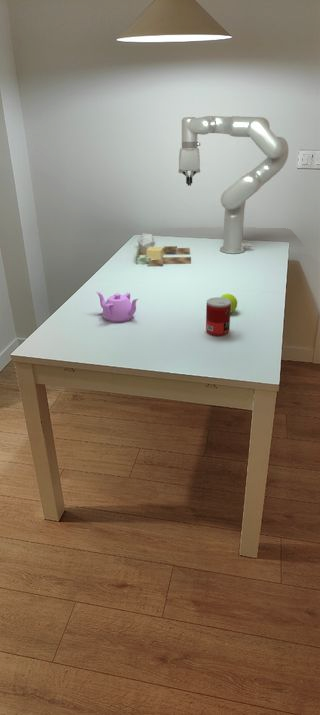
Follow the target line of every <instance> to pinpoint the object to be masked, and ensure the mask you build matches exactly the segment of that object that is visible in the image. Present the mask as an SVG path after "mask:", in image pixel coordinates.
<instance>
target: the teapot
mask: <svg viewBox="0 0 320 715" xmlns="http://www.w3.org/2000/svg"><path fill="white" fill-rule="evenodd" d="M95 293H96V294H97V295H98V296H99V297H98V298H99V302H100V307H101V309H102V316H103V317H104V319H105V320H107V321H109V322H111V323H122V322H123V323H124V322H128V321H130V320H131V319H132V318H133V316H134V315H135V313H136V311H137V301H138V300H139V298H135V299H133V300H132V301H131V293H130V292H126V293H125V294H121V293H114V294H113V295H110V296H109V297H108V298H107V300H105V298H104V296H103V294H102V292H99V291H95Z"/></svg>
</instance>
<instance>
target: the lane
mask: <svg viewBox="0 0 320 715" xmlns="http://www.w3.org/2000/svg"><path fill="white" fill-rule="evenodd" d="M146 250H147V249H141V248H140V246H137V249H136V254H135V264H136V265H148V267H164V265H181V264H183V265H185V264H192V257H191V256H181V257H180V256H173V257H172V256H170V257H169V256H168V257H167V256H166V257H165V255H190V254H191V252H190V250H191V249H190V247H178V246H177V245H176V246H175V245H174V246H173V245H169V246H168V245H167V246H166V245H165V246H163V253H164V256H163V257H161V259H151V258H147V257H140V256H147V254H146Z"/></svg>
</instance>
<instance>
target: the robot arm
mask: <svg viewBox="0 0 320 715" xmlns="http://www.w3.org/2000/svg"><path fill="white" fill-rule="evenodd" d="M270 126H271V125H270V122H269V120H268V119H267V118H265V117H264V116H263V117H262V116H240V115H239V116H234V115H232V116H220V115H218V116H216V115H215V116H214V115H206V116H202V117H195V116H186V117H183V118H182V119H181V148H180V149H179V155H178V171H177V172H178V173H179V174H182V175H184V176H185V181H186V182H185V183H186V185H187V186H189V187H190V186H192V184H193V178H194V176H195V175H196V174H199V173H201V169H200V166H201V163H200V162H201V159H200V158H201V157H200V149H199V146H201V142H198V135H201V136H202V135H208V134H223V135H224V134H225V135H229V136H230V137H236V138H237V137H238V138H250V139H251V140H252V141H253V143H254V144H255V145H256V146H257V147H258V149H259V150H260V151H261V152H262V153H263V154H264V155H265V156H266V158H265V159H264V160H263V161H262V162H260V163H259V164H258V165H257V166H256V167H254V168H253V169H252V170H250V171H249V172H246V173H245V174H244V175H242V176H241V177H240V178H239V179H237V180H236V181H235V182H234V183H233V184H231V186H229V187H228V188H227V189H225V190H224V191H223V193H222V194H221V196H220V203H221V206H222V207H223V208H224V218H223V219H224V222H223V223H224V224H223V245H222V246H220V249H219V250H220V252H221V253H225V254H229V255H231V254H233V255H235V254H242V253H244V252H246V248H252V247H253V246H252V243H249V242H244V240H243V238H244V237H243V236H244V222H245V221H244V220H245V207H246V201H248V199H250V198H251V197H252V196H254V194H256V193H257V192H258V191H259V190H260V189H261V188H262V187H263V186H264V185H265V184H266V183H268V182H269V181H271V179H272V178H274V177H275V176H276V175H277V174H278V173H279V172H280V171H281V170H282V169H283V168H284V166H285V165H286V163H287V161H288V158H289V144H288V141H287V140H286V139H285V138H284V137H283V136H276V134H275V133H274V132H273V131H272V130H271V128H270ZM188 171H190V175H189V172H188Z"/></svg>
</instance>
